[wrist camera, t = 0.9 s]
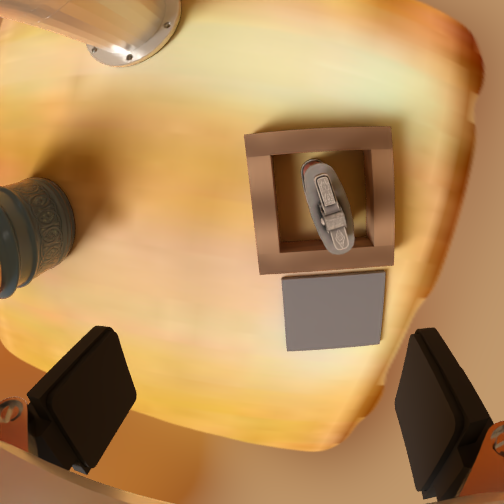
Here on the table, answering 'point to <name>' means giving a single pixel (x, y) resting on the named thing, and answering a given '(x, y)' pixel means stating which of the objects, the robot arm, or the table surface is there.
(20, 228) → the canister
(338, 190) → the lighter
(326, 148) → the frame
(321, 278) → the charcoal mat
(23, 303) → the table surface
